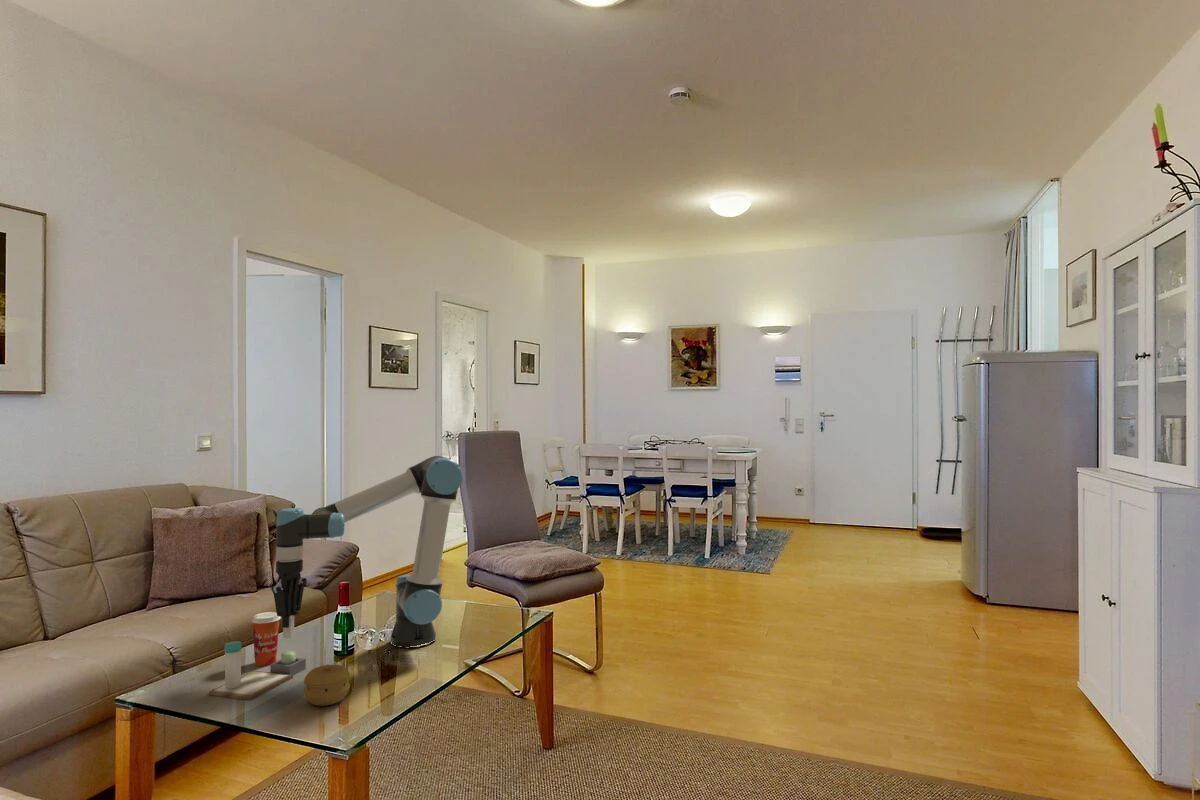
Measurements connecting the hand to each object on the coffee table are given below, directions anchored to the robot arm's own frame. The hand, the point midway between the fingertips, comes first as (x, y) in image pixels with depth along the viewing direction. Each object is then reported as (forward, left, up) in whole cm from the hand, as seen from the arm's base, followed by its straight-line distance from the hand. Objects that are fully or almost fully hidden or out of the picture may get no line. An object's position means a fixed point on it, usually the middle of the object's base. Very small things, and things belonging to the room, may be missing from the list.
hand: (288, 637), depth 213 cm
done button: (0, 0, -9) cm, 9 cm away
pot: (-26, +16, -11) cm, 33 cm away
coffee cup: (+12, -5, -11) cm, 17 cm away
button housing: (0, 0, -10) cm, 10 cm away
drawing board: (+2, +12, -10) cm, 16 cm away
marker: (+5, +16, -9) cm, 20 cm away
